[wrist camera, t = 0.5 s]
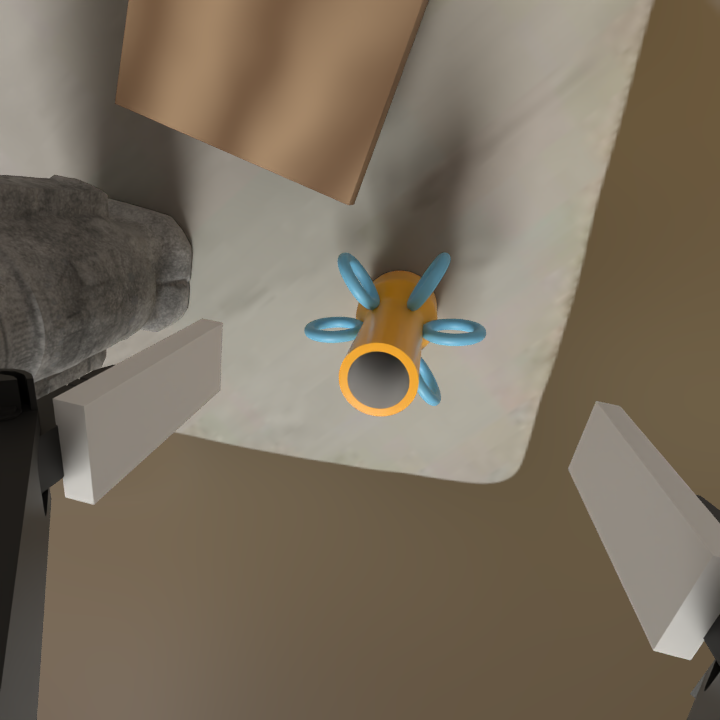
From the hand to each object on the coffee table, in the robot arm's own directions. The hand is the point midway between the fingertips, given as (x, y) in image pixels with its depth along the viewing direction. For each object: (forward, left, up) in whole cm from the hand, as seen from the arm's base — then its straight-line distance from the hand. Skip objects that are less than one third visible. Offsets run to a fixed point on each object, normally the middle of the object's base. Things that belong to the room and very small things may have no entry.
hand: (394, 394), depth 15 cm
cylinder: (0, -2, -21) cm, 21 cm away
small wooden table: (-13, +12, -21) cm, 27 cm away
